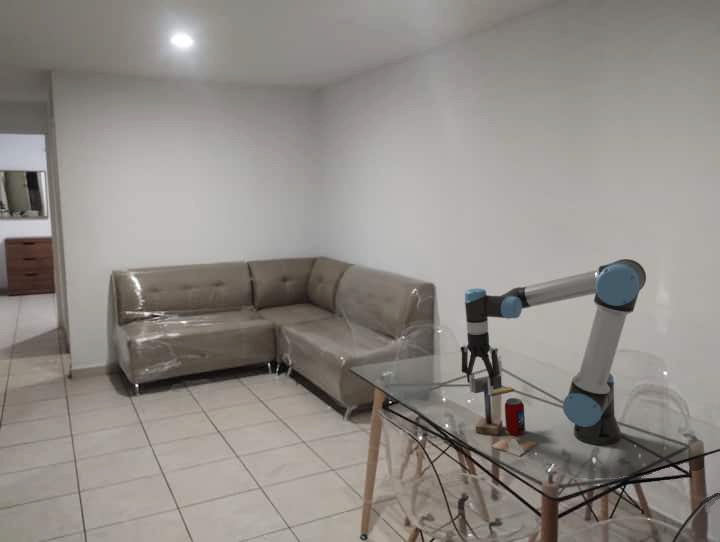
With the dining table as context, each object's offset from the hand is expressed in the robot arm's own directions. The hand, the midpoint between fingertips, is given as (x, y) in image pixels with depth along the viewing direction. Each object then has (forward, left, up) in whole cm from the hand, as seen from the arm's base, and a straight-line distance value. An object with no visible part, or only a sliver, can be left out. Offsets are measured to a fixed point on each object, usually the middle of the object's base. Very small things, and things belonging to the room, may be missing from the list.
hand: (481, 392), depth 212 cm
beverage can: (-9, -6, -15) cm, 19 cm away
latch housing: (0, -3, -15) cm, 15 cm away
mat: (-15, +4, -15) cm, 22 cm away
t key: (-2, -5, -12) cm, 13 cm away
